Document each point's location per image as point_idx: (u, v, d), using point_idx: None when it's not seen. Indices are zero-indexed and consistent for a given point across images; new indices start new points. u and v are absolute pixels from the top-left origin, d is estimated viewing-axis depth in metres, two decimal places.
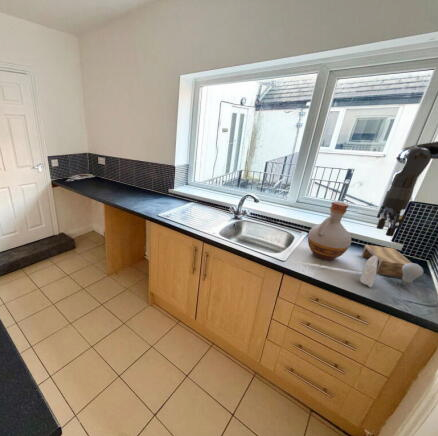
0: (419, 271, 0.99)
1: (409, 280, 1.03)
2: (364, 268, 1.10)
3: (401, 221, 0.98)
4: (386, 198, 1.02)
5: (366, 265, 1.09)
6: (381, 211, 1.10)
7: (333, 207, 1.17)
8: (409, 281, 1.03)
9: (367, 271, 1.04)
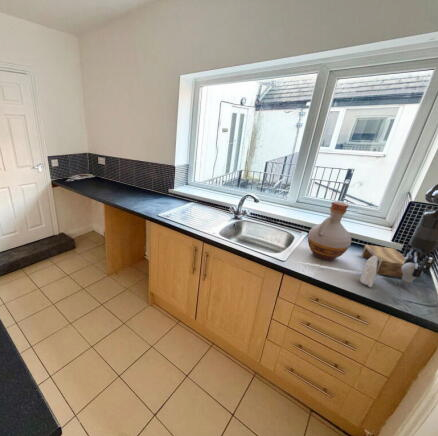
0: None
1: (409, 280, 1.03)
2: (364, 268, 1.10)
3: (430, 264, 0.94)
4: (414, 238, 0.98)
5: (366, 265, 1.09)
6: (407, 250, 1.05)
7: (333, 207, 1.17)
8: (409, 281, 1.03)
9: (367, 271, 1.04)
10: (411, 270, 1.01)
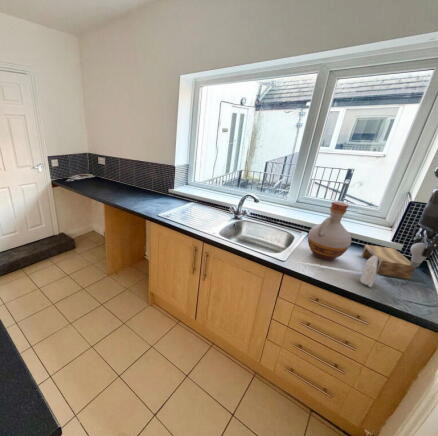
0: None
1: (418, 260, 0.99)
2: (364, 268, 1.10)
3: None
4: (424, 216, 0.95)
5: (366, 265, 1.09)
6: (416, 230, 1.02)
7: (333, 207, 1.17)
8: (418, 261, 1.00)
9: (367, 271, 1.04)
10: (421, 250, 0.97)
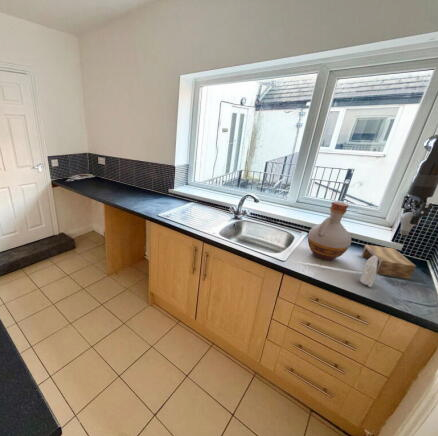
0: None
1: (407, 228, 1.07)
2: (364, 268, 1.10)
3: (427, 210, 0.99)
4: (412, 186, 1.03)
5: (366, 265, 1.09)
6: (405, 201, 1.10)
7: (333, 207, 1.17)
8: (407, 230, 1.07)
9: (367, 271, 1.04)
10: (409, 218, 1.05)
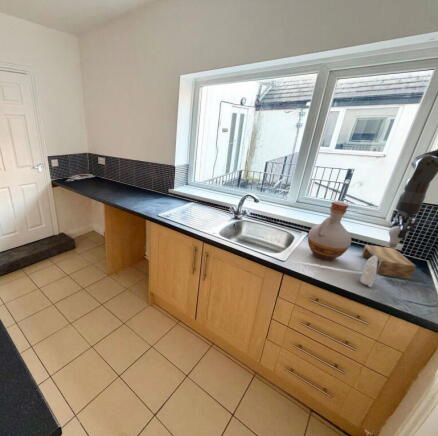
0: None
1: (395, 242, 1.13)
2: (364, 268, 1.10)
3: (413, 225, 1.05)
4: (399, 202, 1.09)
5: (366, 265, 1.09)
6: (394, 215, 1.16)
7: (333, 207, 1.17)
8: (395, 243, 1.14)
9: (367, 271, 1.04)
10: (397, 232, 1.11)
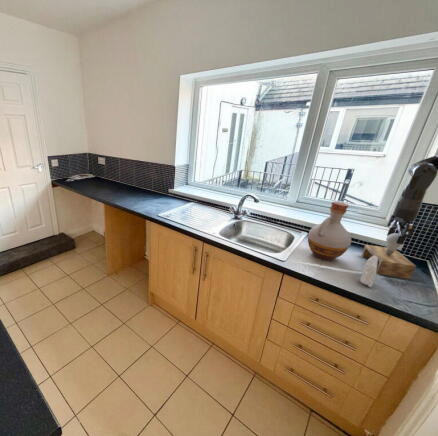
0: None
1: (392, 249, 1.15)
2: (364, 268, 1.10)
3: (411, 230, 1.06)
4: (397, 209, 1.10)
5: (366, 265, 1.09)
6: (391, 220, 1.17)
7: (333, 207, 1.17)
8: (392, 249, 1.15)
9: (367, 271, 1.04)
10: (394, 239, 1.12)
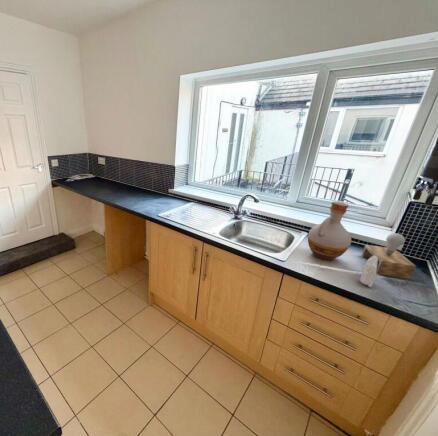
0: (401, 240, 1.11)
1: (392, 249, 1.15)
2: (364, 268, 1.10)
3: None
4: (424, 168, 1.07)
5: (366, 265, 1.09)
6: (417, 182, 1.14)
7: (333, 207, 1.17)
8: (392, 249, 1.15)
9: (367, 271, 1.04)
10: (394, 239, 1.12)
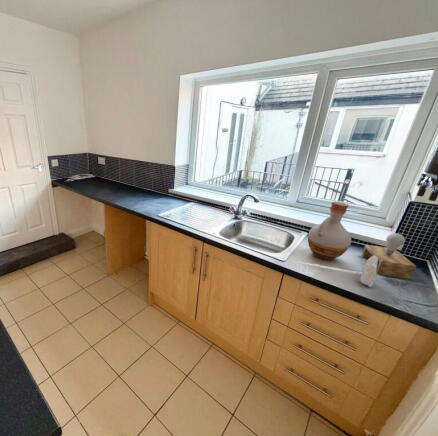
0: (401, 240, 1.11)
1: (392, 249, 1.15)
2: (364, 268, 1.10)
3: None
4: (429, 164, 1.07)
5: (366, 265, 1.09)
6: (422, 179, 1.14)
7: (333, 207, 1.17)
8: (392, 249, 1.15)
9: (367, 271, 1.04)
10: (394, 239, 1.12)
